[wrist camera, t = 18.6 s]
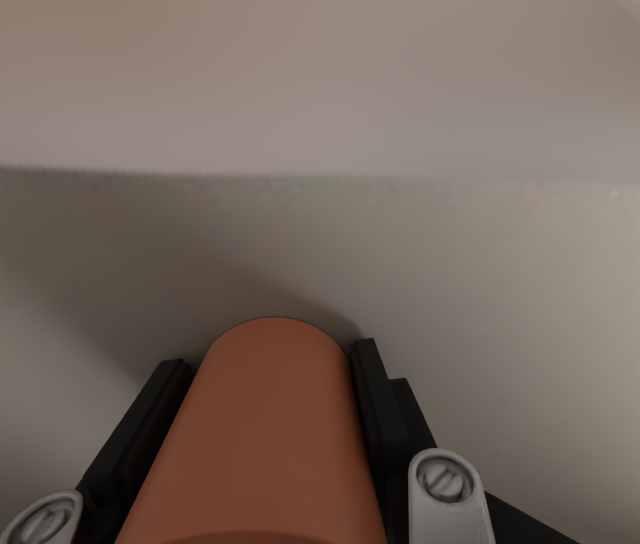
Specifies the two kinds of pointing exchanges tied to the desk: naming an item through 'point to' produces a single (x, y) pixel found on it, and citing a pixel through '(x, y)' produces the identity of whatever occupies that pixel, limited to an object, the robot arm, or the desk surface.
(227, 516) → the candle
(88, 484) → the robot arm
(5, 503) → the desk surface
